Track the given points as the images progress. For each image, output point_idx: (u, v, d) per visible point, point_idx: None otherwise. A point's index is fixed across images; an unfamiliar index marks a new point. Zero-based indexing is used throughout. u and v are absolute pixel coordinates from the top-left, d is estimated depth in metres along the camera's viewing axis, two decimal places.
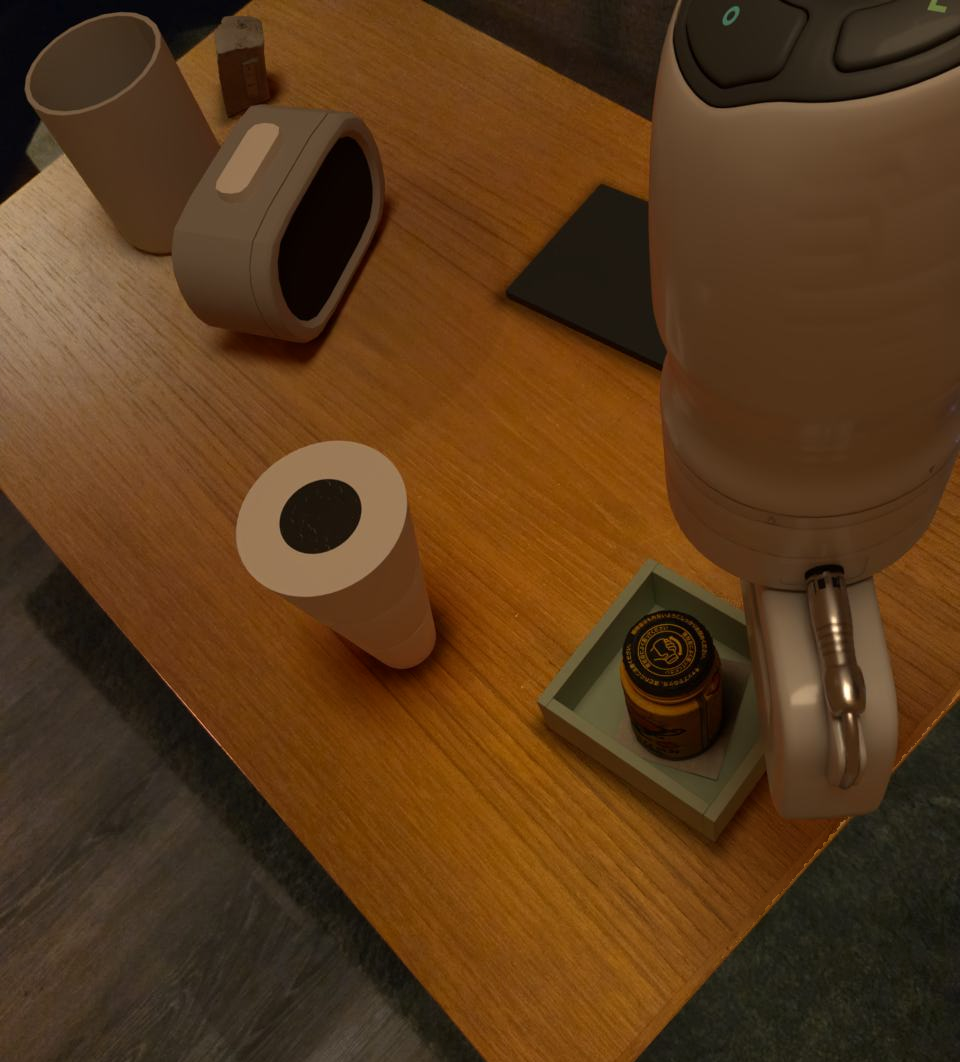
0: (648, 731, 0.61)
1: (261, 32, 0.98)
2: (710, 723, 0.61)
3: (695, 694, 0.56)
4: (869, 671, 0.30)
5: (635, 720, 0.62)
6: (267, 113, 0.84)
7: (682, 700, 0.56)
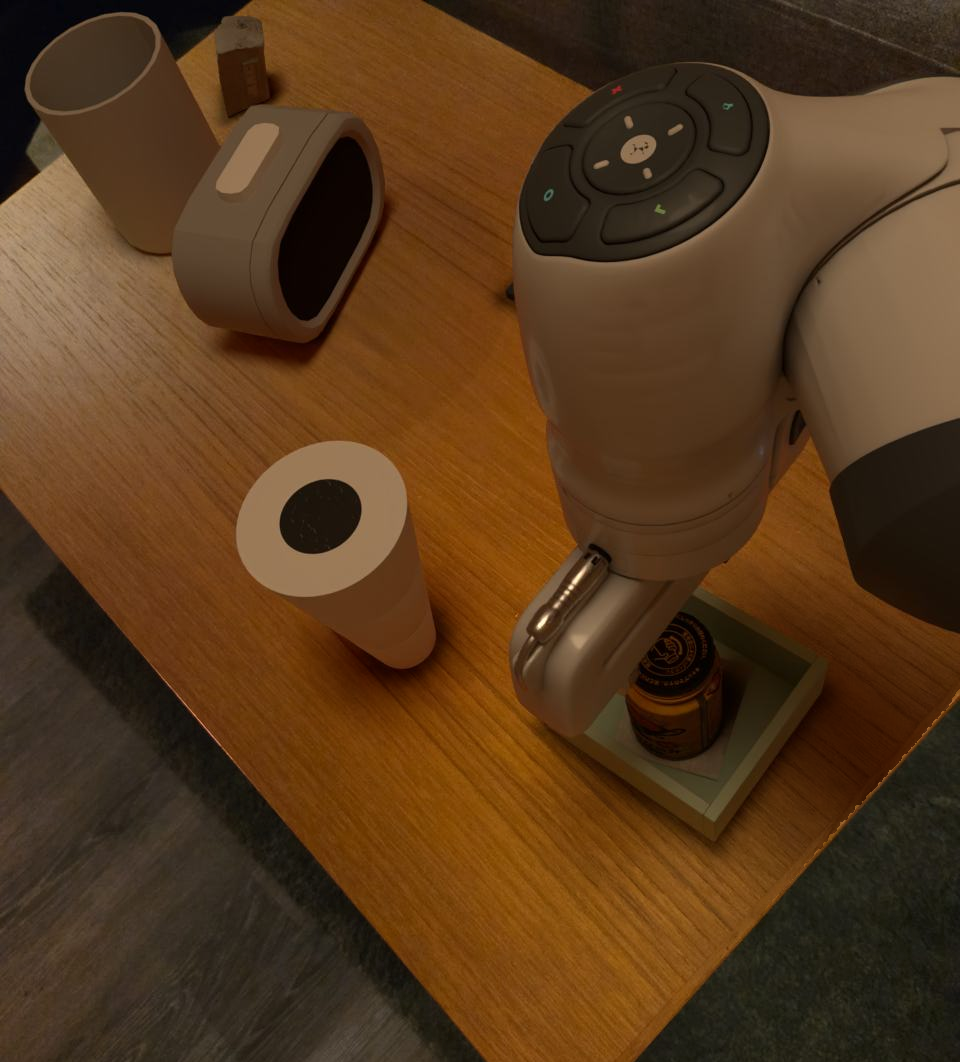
0: (648, 731, 0.61)
1: (261, 32, 0.98)
2: (710, 723, 0.61)
3: (695, 694, 0.56)
4: (581, 630, 0.41)
5: (635, 720, 0.62)
6: (267, 113, 0.84)
7: (682, 700, 0.56)
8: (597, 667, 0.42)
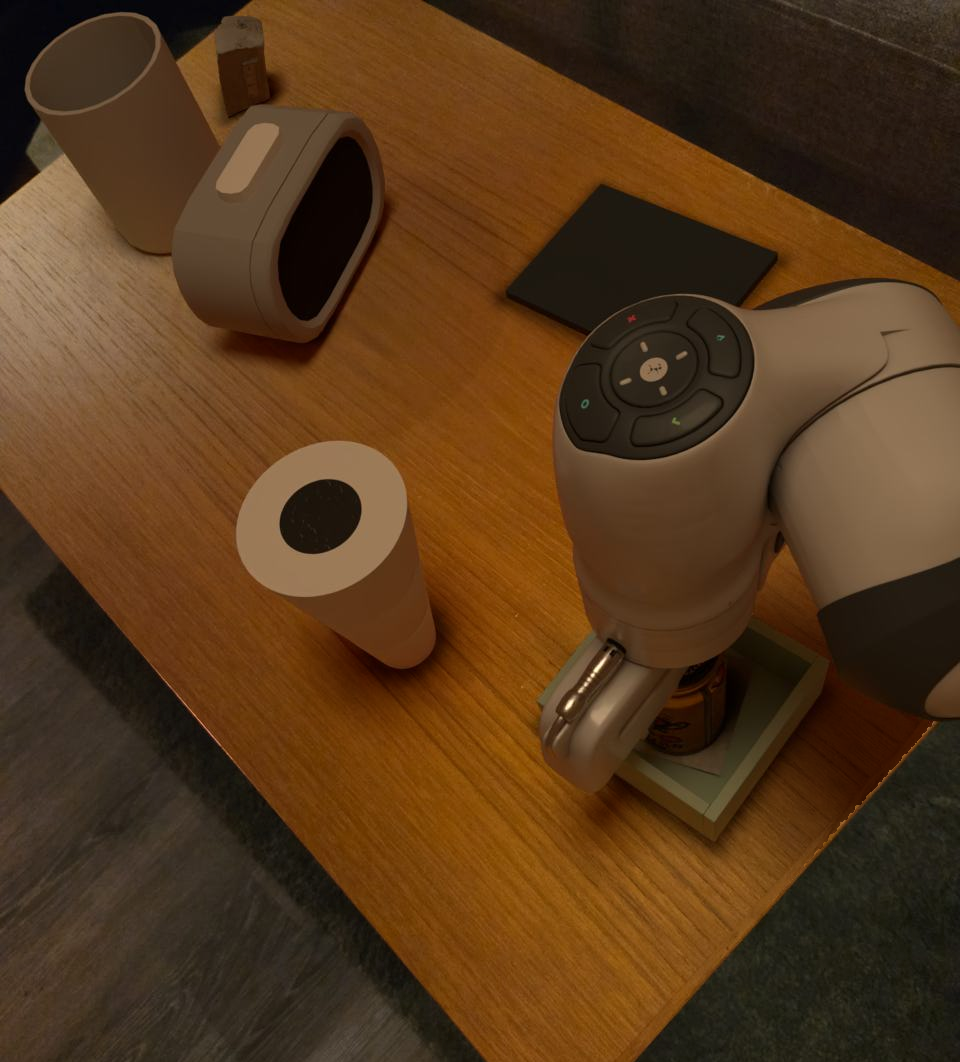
0: None
1: (261, 32, 0.98)
2: (714, 717, 0.61)
3: (700, 686, 0.56)
4: (601, 709, 0.49)
5: None
6: (267, 113, 0.84)
7: (687, 692, 0.56)
8: (613, 738, 0.51)
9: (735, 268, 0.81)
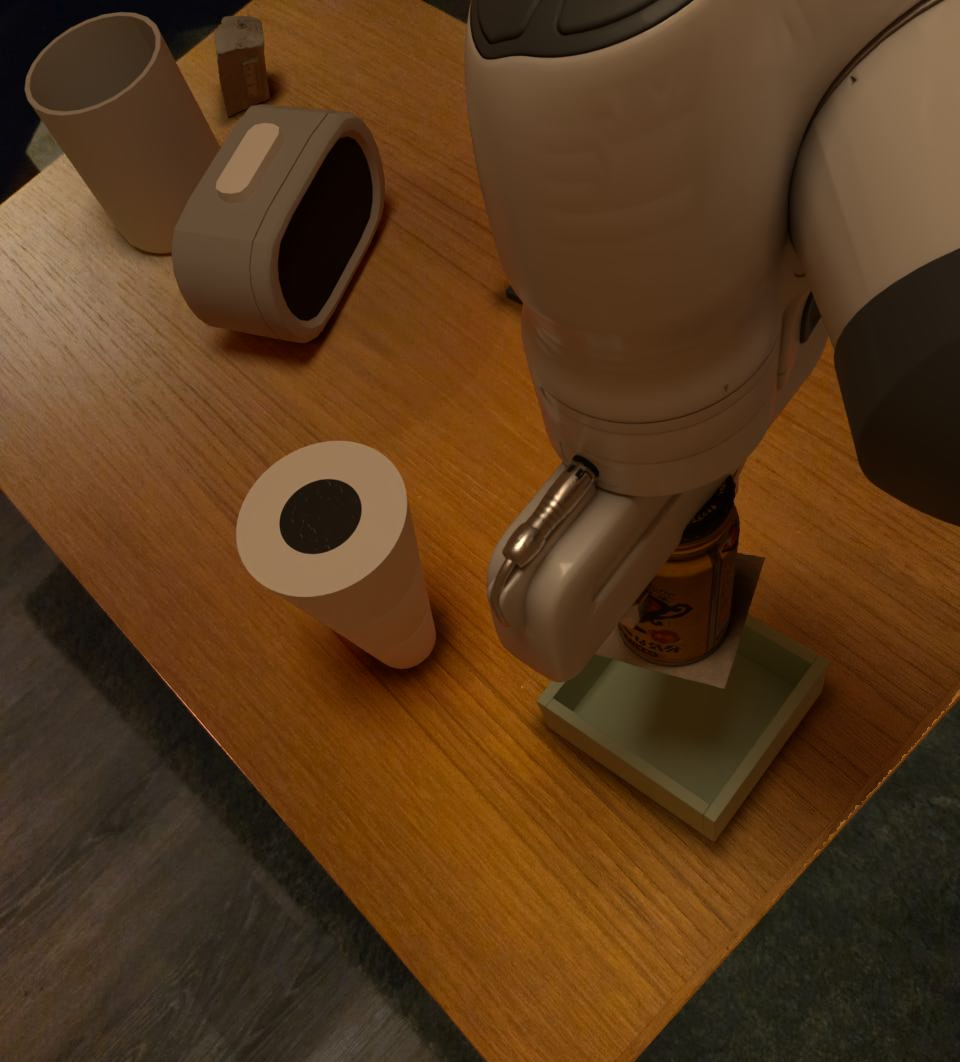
0: None
1: (261, 32, 0.98)
2: (720, 605, 0.48)
3: (709, 544, 0.44)
4: (566, 553, 0.36)
5: None
6: (267, 113, 0.84)
7: (692, 552, 0.44)
8: (586, 599, 0.38)
9: None
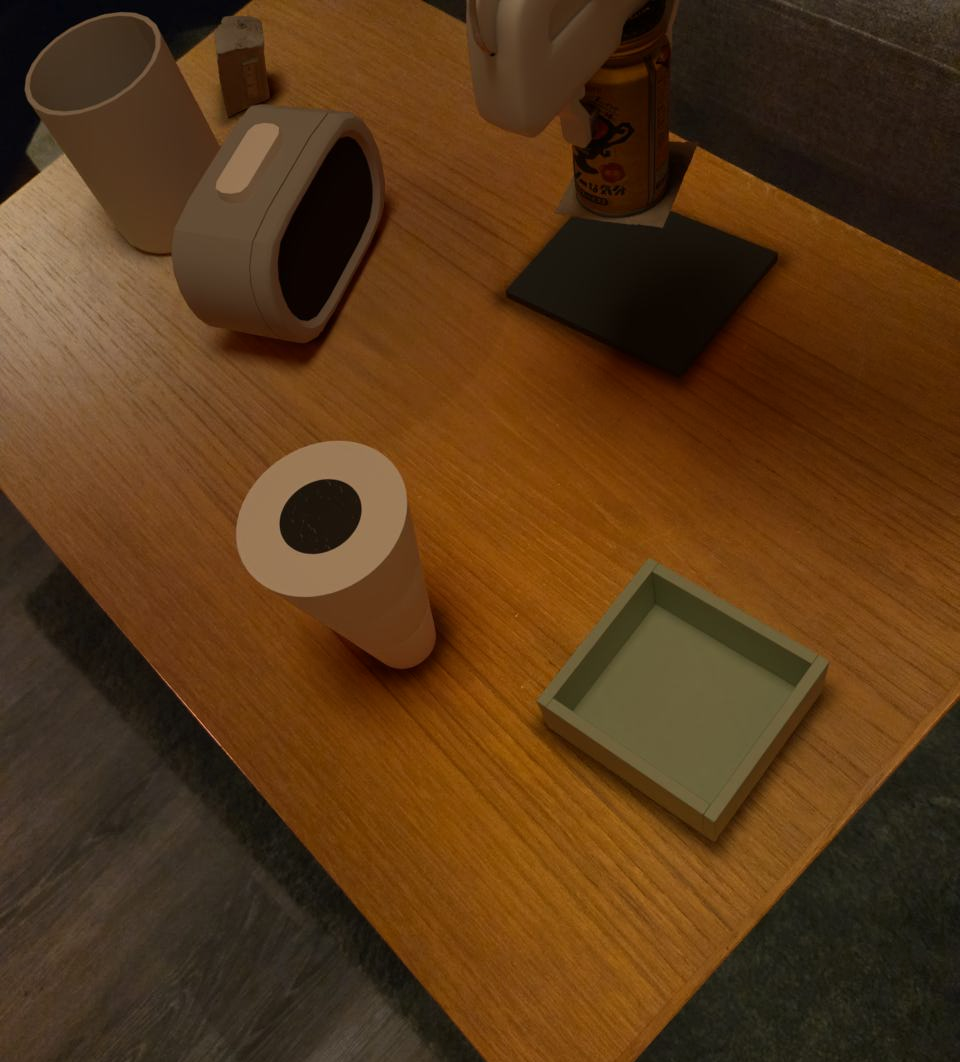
0: (594, 145, 0.59)
1: (261, 32, 0.98)
2: (657, 138, 0.59)
3: (645, 47, 0.54)
4: None
5: None
6: (267, 113, 0.84)
7: (631, 53, 0.54)
8: (543, 29, 0.48)
9: (735, 268, 0.81)
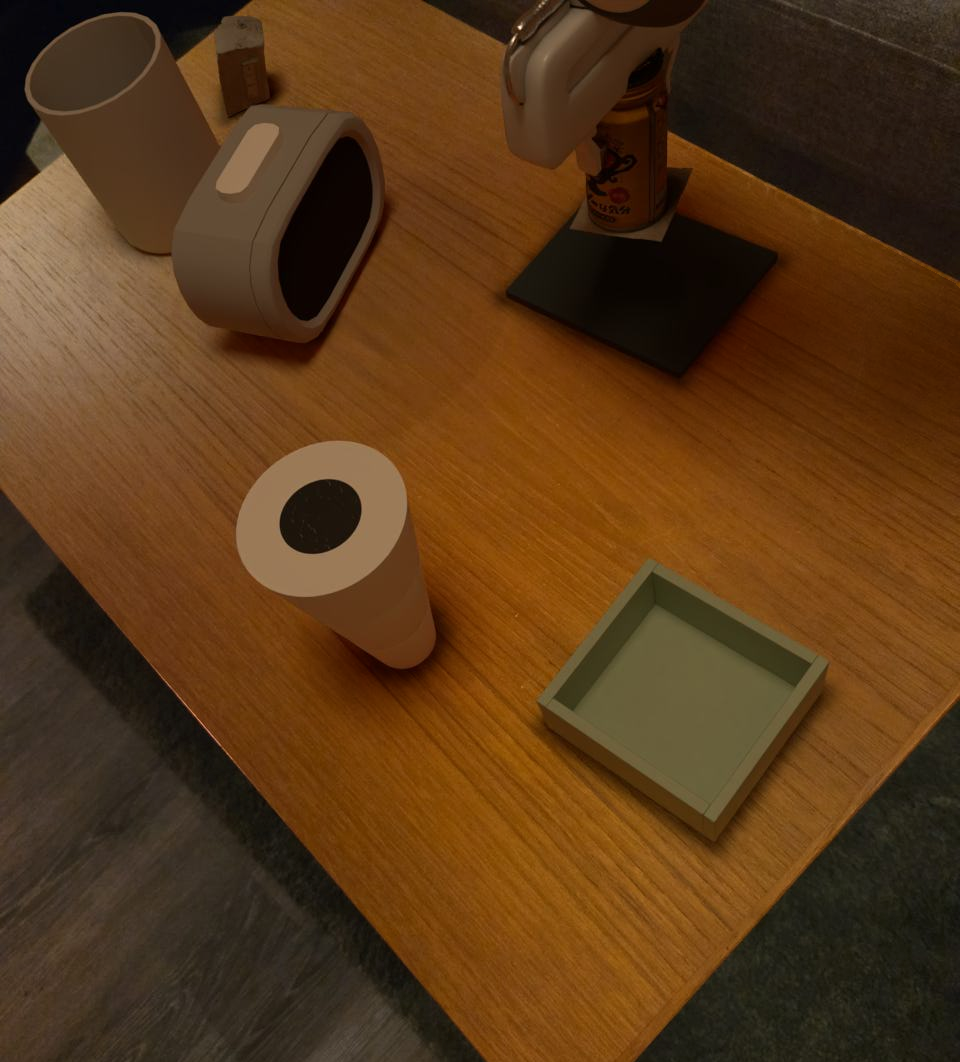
0: (603, 173, 0.70)
1: (261, 32, 0.98)
2: (657, 167, 0.70)
3: (646, 94, 0.66)
4: (550, 40, 0.58)
5: None
6: (267, 113, 0.84)
7: (635, 99, 0.66)
8: (563, 84, 0.60)
9: (735, 268, 0.81)
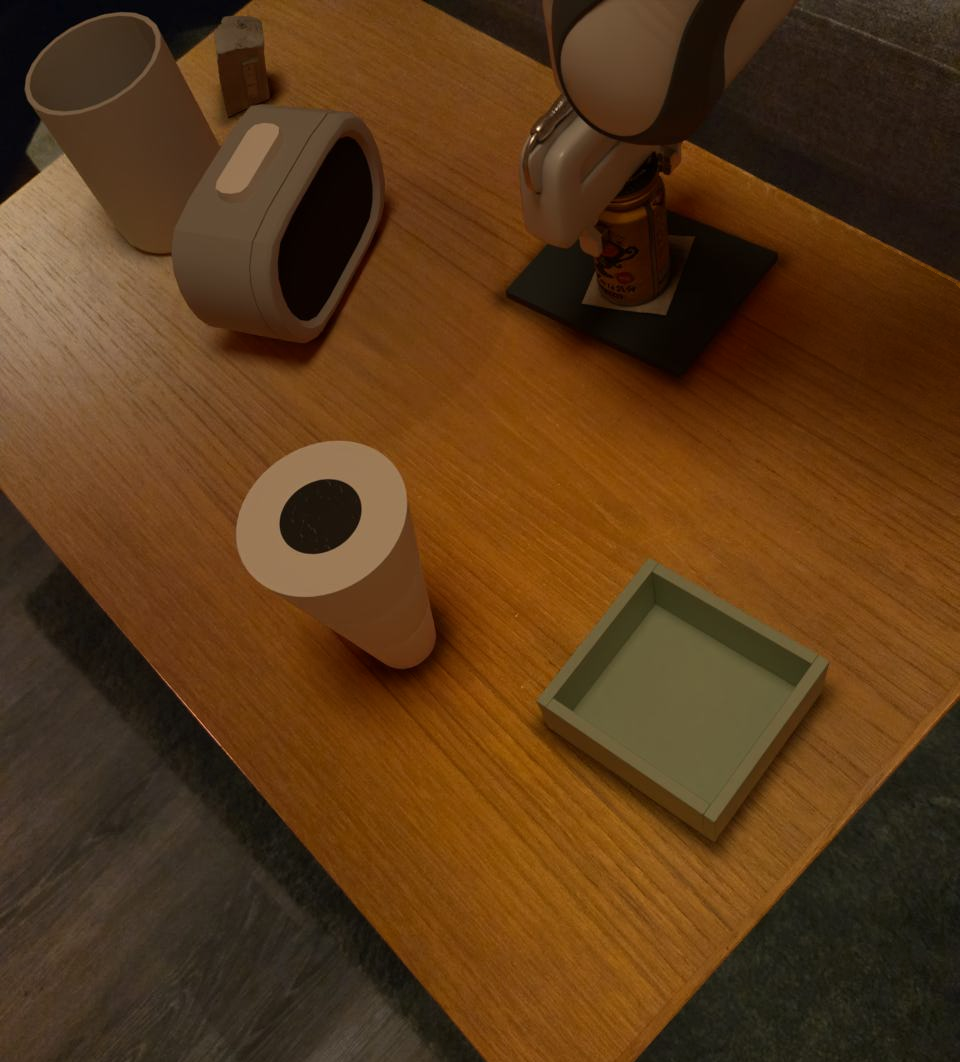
0: (609, 260, 0.77)
1: (261, 32, 0.98)
2: (658, 252, 0.77)
3: (643, 197, 0.72)
4: (565, 139, 0.64)
5: None
6: (267, 113, 0.84)
7: (633, 202, 0.72)
8: (576, 176, 0.66)
9: (735, 268, 0.81)
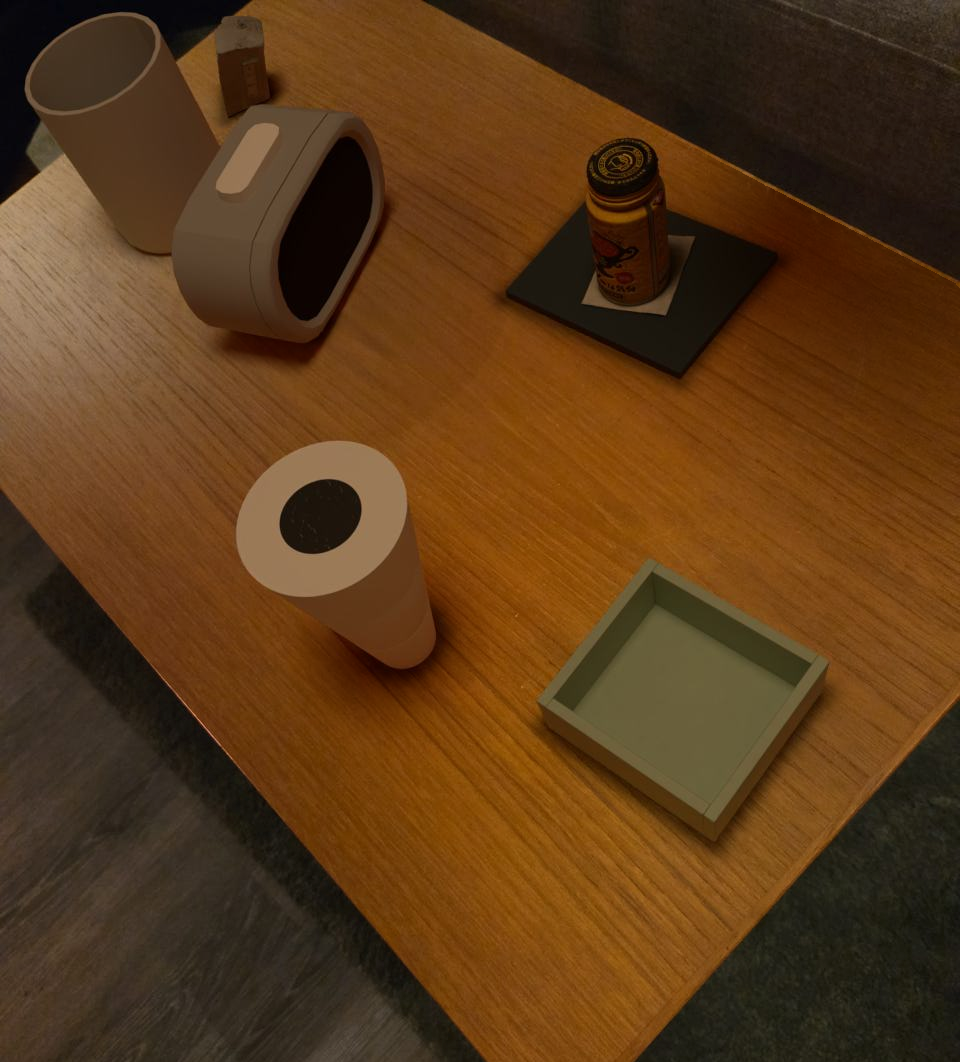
0: (609, 260, 0.77)
1: (261, 32, 0.98)
2: (658, 252, 0.77)
3: (643, 197, 0.72)
4: None
5: (599, 253, 0.78)
6: (267, 113, 0.84)
7: (633, 202, 0.72)
8: None
9: (735, 268, 0.81)
